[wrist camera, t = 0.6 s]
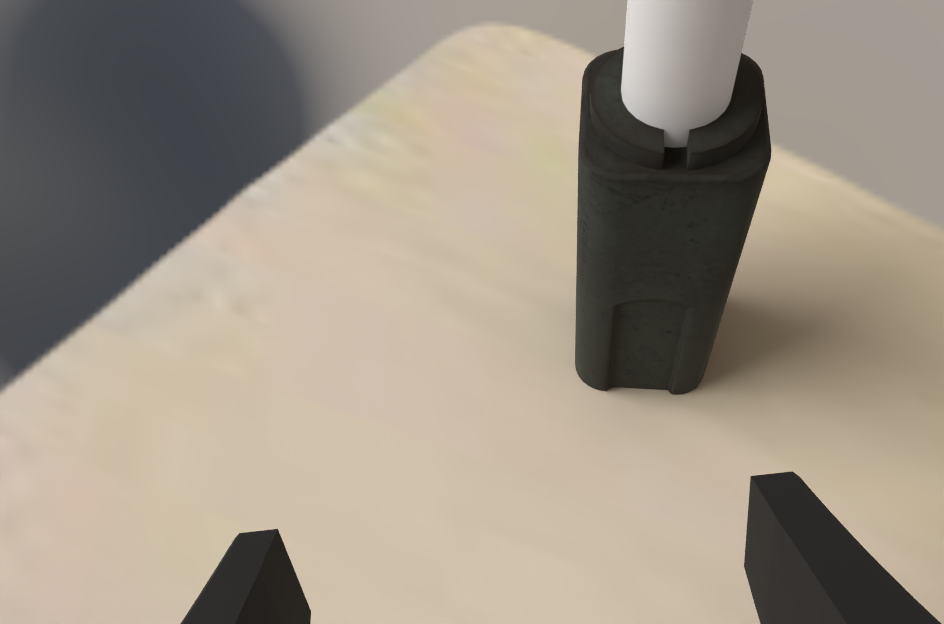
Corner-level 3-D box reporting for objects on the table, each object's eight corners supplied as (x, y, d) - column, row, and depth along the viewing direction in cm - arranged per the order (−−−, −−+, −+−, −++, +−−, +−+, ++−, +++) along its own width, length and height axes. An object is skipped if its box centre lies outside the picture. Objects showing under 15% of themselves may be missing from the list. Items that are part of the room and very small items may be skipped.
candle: (700, 287, 34) (916, -566, 13) (705, 396, 31) (986, -453, 10) (579, 283, 35) (595, -531, 14) (573, 389, 32) (584, -417, 11)
